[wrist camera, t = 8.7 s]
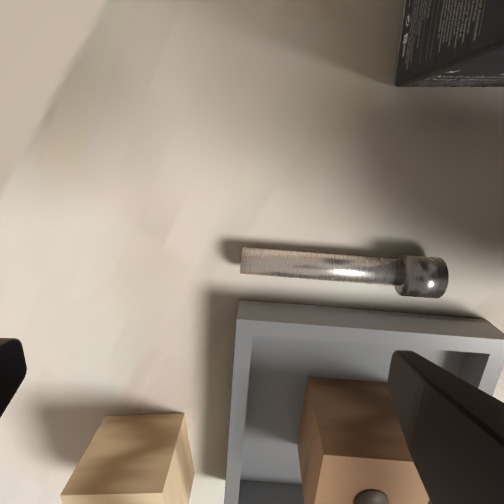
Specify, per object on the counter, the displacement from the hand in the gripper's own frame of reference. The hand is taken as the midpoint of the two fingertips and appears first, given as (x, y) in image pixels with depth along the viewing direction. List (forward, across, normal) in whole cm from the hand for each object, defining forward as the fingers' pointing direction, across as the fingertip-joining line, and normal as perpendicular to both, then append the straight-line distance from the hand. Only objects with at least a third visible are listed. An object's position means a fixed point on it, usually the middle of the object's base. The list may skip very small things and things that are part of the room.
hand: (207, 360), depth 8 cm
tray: (+13, -8, +13) cm, 20 cm away
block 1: (+13, +6, +17) cm, 23 cm away
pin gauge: (+13, -5, +2) cm, 14 cm away
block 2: (+12, -8, +13) cm, 20 cm away
